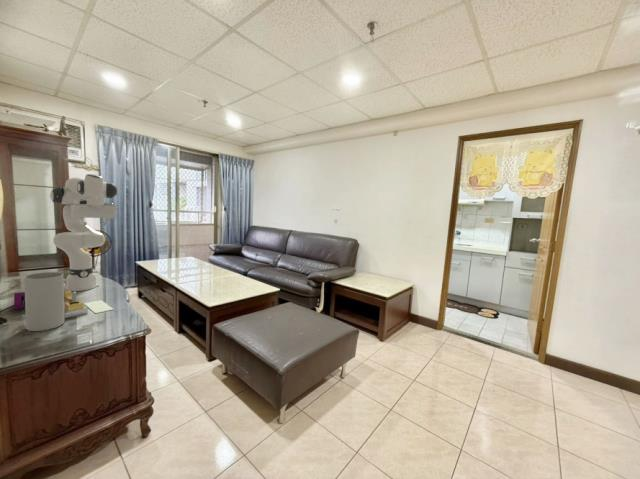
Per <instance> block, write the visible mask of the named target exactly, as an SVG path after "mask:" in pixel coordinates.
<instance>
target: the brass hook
mask: <svg viewBox="0 0 640 479" xmlns="http://www.w3.org/2000/svg"><path fill="white" fill-rule="evenodd" d="M77 300H78V301H77V304H72V291H64V303H65V309H66V310H67V311H73V310H78V309H83V305H84V302H83V301H82V300H81V299H80V300H79V299H77Z"/></svg>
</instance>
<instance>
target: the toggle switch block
mask: <svg viewBox="0 0 640 479" xmlns="http://www.w3.org/2000/svg"><path fill="white" fill-rule="evenodd" d="M71 295H72V304H77V301H78V300H79V299H77V291H71ZM86 314H87V315H88V314H89V308H88V307H87V306H86V305H85V304H83V309H78V310H73V311H67V310H66V309H65V303H64V319H68V318H73V317H77V316H82V315H86Z"/></svg>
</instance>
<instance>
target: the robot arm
mask: <svg viewBox="0 0 640 479" xmlns="http://www.w3.org/2000/svg"><path fill="white" fill-rule="evenodd" d="M117 193H118V189H117V186H116V185H115V184H114V183H112V182H110V181H109V182H108V181H106V182H105V181H104V178H103V176H102V175H99V174H98V175H97V174H91V173H88V174H85V176H84V178H80V177H71V178H68V179H67V180H65V184H64V186H61V185H59V186H58V187H55V188H54V189H52V190H51V191H50V194H49V198H50V200H51V202H52V203H53V204H56V205H65V206H64V207H63V208H62V216H63V221H64V225H65V228H66V229H67V230H68V231H66V232H59V233H56V234H55V235H54V237H53V244H54V246H55V247H56V248H58V249H60V250H61V251H63V252H64V253H65V254H66V255H67V257H68V260H69V261H68V262H69V269H68V275H67V276H66V278H64V292H66V291H71V292H80V291H87V290H92V289H94V288H96V287H99V286H100V284H99V283H98V282H97V276H96V274H95V273H93V272H94V268H93V257H92V255H91V254H88V253H86V252H82V251H81V249H89V248H91V249H92V248H97V247H102V246H104V245H105V243H106V237H105V235H104V233H102V232H100V231H97V230H95V229H94V228H92V227H91V226H90V225H89V223H88V221H87V218H89V219H90V218H91V219H104V222H102V226H108V222H109V220H110V219H116V217H117V213H116V210H117V205H116V204H114V203H113V202H110V203H109V202H105V198H106V199H113V198H115V197H116V196H117V195H118V194H117Z"/></svg>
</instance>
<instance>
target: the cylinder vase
mask: <svg viewBox="0 0 640 479" xmlns="http://www.w3.org/2000/svg"><path fill="white" fill-rule="evenodd" d="M23 277H24V278H23V279H24V280H23V281H24V282H23V283H24V292H25V301H24V304H25V305H24V308H25V328H26V330H27V331H29V332H42V331H48V330H53V329H56V328H58V327H60V326H62V325H63V324H64V323H65V318H64V292H65V291H64V284H65V283H64V279H65V278H64V272H60V271H59V272H58V271H46V272H45V271H44V272H36V273H31V274H26V275H24V276H23Z"/></svg>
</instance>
